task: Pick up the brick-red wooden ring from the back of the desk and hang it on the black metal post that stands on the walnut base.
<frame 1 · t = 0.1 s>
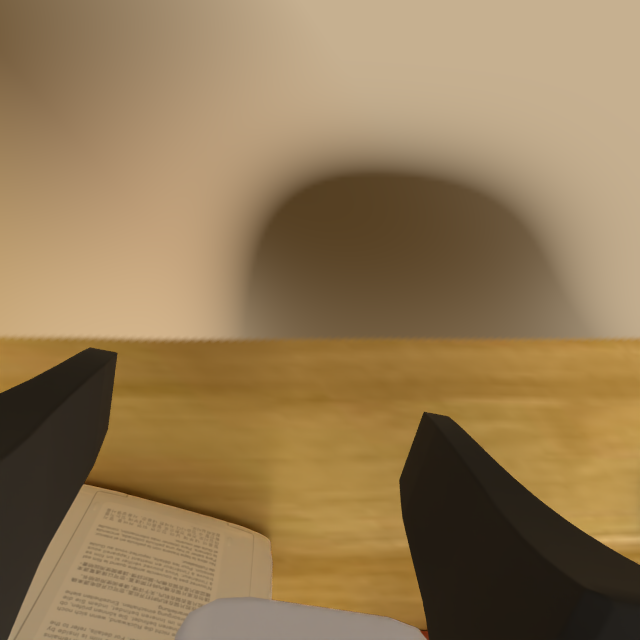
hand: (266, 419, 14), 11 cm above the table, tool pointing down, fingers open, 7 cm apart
white wireless mouse: (157, 536, 27), on the table
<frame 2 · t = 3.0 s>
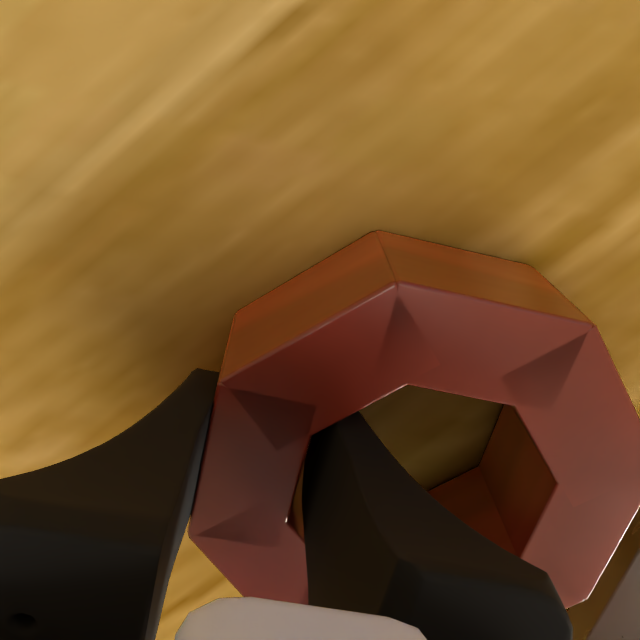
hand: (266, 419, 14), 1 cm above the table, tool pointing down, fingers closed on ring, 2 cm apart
ring: (397, 414, 16), on the table, touching gripper
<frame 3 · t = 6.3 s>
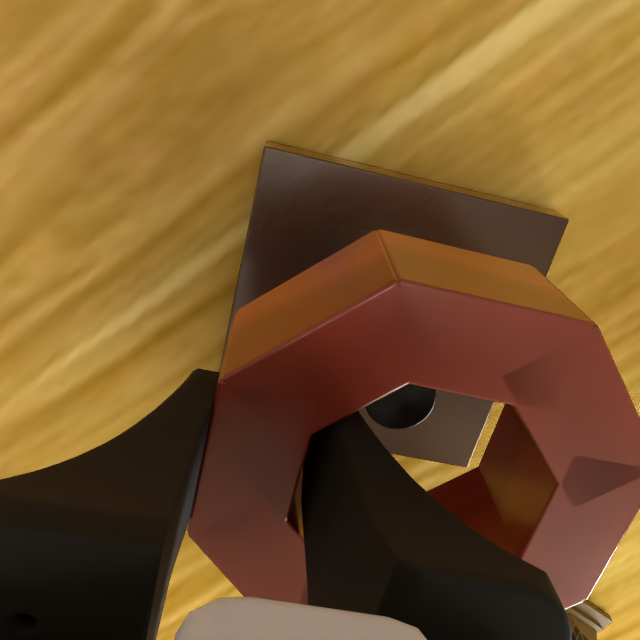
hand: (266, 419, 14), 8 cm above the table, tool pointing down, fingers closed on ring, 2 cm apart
post: (374, 312, 22), on the table
ring: (397, 413, 16), point 7 cm above the table, touching gripper
eiffel tower: (450, 629, 29), on the table
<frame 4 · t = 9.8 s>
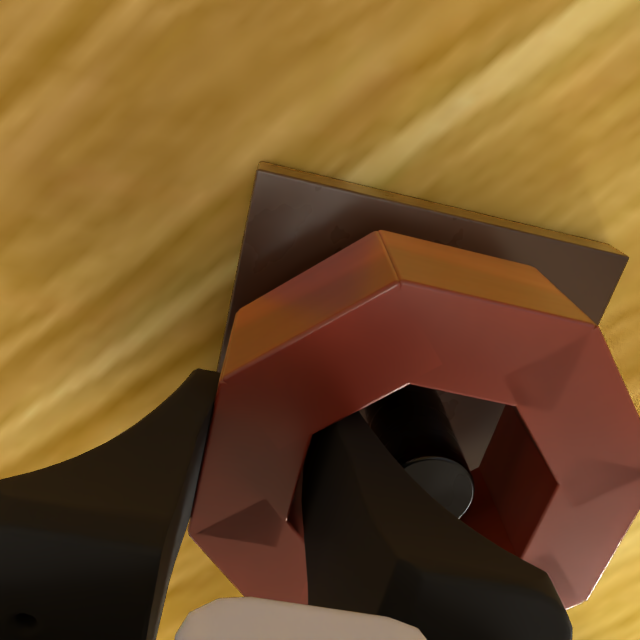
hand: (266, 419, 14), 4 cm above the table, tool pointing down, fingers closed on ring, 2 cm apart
post: (389, 363, 18), on the table
ring: (398, 413, 16), point 3 cm above the table, touching gripper
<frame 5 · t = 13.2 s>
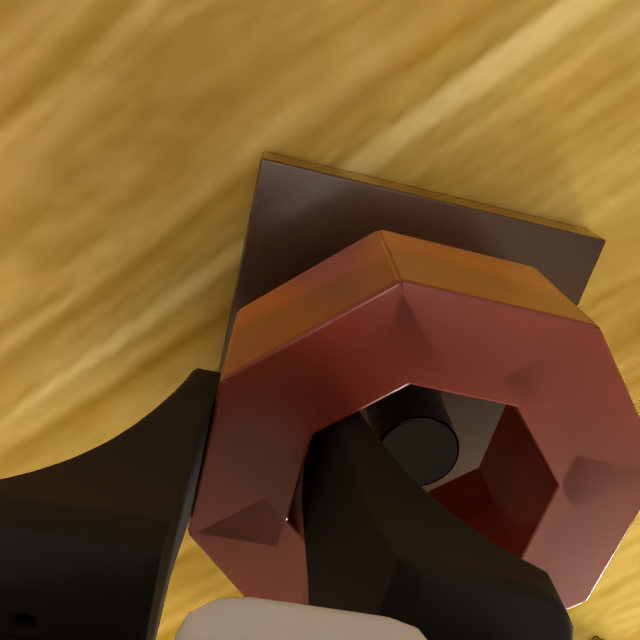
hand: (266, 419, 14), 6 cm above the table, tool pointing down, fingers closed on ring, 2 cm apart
post: (384, 341, 20), on the table
ring: (398, 413, 16), point 4 cm above the table, touching gripper
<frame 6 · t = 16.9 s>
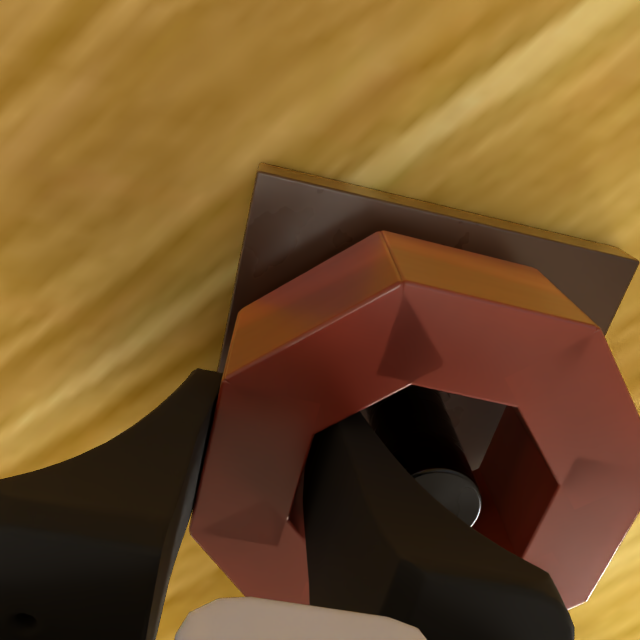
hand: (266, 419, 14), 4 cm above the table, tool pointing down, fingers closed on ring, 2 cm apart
post: (392, 369, 18), on the table
ring: (399, 414, 16), point 2 cm above the table, touching gripper
when the fingers open (6 cm above the table, at t = 21.9 s): ring drops 4 cm, resting on post.
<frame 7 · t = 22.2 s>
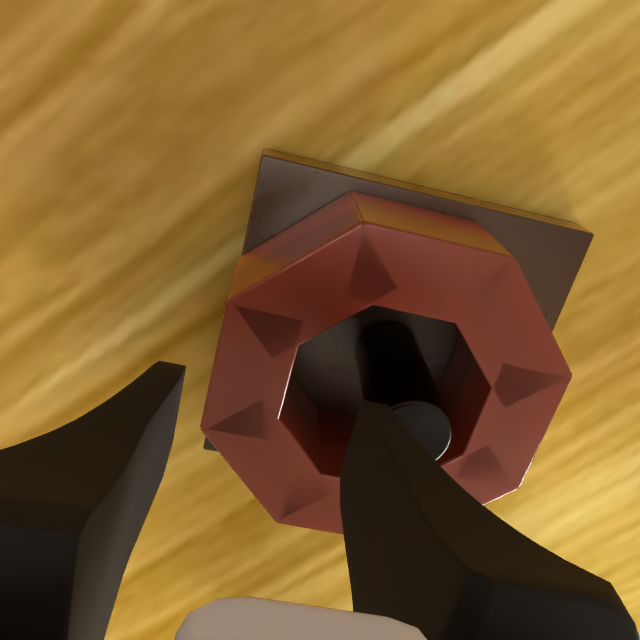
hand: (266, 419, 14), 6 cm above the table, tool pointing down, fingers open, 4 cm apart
post: (381, 333, 20), on the table
ring: (370, 346, 19), point 1 cm above the table, touching post
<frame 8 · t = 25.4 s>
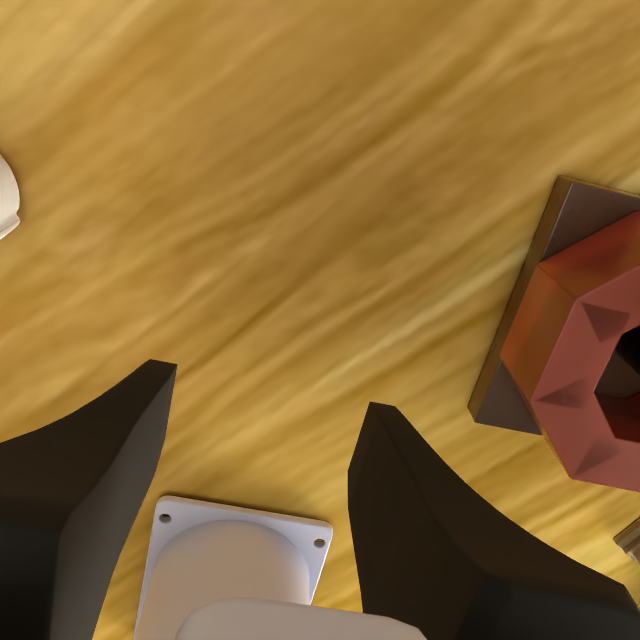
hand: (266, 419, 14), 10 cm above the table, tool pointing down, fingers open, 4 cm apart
post: (624, 325, 25), on the table
ring: (628, 336, 23), point 1 cm above the table, touching post
eiffel tower: (639, 614, 31), on the table
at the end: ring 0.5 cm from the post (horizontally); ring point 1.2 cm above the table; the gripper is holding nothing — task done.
